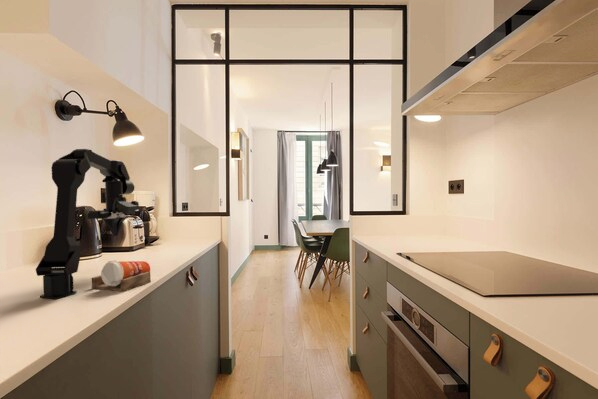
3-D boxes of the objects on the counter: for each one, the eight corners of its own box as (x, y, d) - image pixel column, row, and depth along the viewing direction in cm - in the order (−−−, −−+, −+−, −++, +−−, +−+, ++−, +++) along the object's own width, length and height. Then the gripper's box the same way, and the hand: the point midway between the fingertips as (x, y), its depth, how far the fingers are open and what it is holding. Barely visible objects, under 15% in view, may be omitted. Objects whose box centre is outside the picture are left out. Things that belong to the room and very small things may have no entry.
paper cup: (156, 274, 116) (123, 278, 103) (139, 285, 117) (105, 291, 104) (147, 253, 118) (113, 255, 105) (130, 265, 119) (96, 268, 106)
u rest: (124, 291, 103) (123, 280, 103) (91, 288, 107) (91, 277, 107) (150, 281, 114) (150, 272, 114) (120, 279, 118) (120, 270, 118)
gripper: (110, 194, 120) (111, 240, 120) (149, 194, 137) (150, 233, 138) (85, 195, 123) (87, 239, 123) (127, 194, 141) (128, 233, 141)
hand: (115, 236), depth 131 cm, fingers closed
